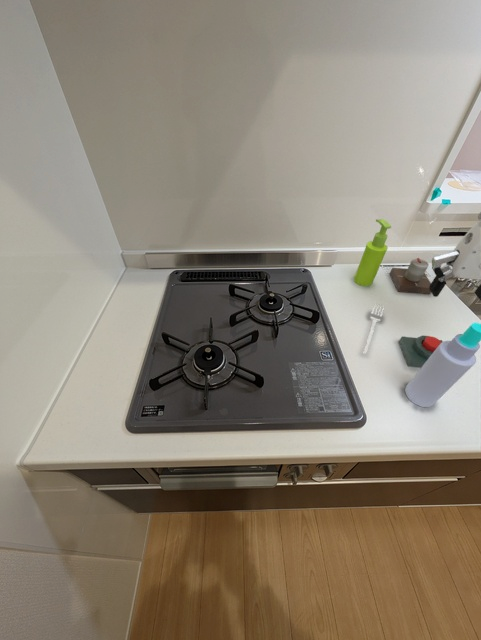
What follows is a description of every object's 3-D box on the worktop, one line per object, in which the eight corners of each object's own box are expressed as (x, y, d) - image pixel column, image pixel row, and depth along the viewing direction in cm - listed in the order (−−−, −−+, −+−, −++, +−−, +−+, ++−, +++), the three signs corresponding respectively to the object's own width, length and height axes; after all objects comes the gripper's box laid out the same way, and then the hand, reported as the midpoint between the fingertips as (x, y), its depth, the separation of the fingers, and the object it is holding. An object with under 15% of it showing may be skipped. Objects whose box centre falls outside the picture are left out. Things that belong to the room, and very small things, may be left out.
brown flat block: (419, 275, 95) (422, 269, 93) (430, 294, 88) (434, 287, 86) (389, 273, 96) (392, 267, 94) (397, 291, 88) (401, 285, 87)
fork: (357, 352, 71) (359, 347, 70) (372, 307, 84) (374, 302, 82) (370, 357, 70) (373, 352, 69) (383, 310, 83) (386, 306, 81)
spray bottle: (404, 401, 61) (461, 334, 45) (404, 380, 65) (457, 311, 49) (434, 412, 59) (504, 346, 44) (433, 389, 63) (497, 321, 48)
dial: (422, 282, 88) (431, 266, 84) (406, 281, 88) (415, 265, 84) (417, 273, 91) (425, 258, 87) (402, 272, 92) (410, 257, 88)
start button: (435, 341, 69) (438, 336, 68) (440, 352, 66) (444, 348, 65) (420, 340, 69) (423, 335, 68) (425, 351, 66) (428, 346, 65)
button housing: (437, 345, 73) (445, 335, 70) (450, 370, 67) (459, 360, 64) (398, 341, 73) (404, 331, 70) (407, 366, 68) (415, 356, 65)
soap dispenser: (366, 273, 95) (388, 217, 81) (375, 285, 90) (401, 228, 76) (350, 274, 95) (369, 218, 81) (358, 287, 90) (381, 229, 76)
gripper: (467, 226, 47) (420, 302, 59) (578, 234, 46) (506, 310, 58) (450, 208, 53) (409, 281, 65) (548, 214, 51) (488, 288, 63)
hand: (455, 294), depth 61 cm, fingers open, 9 cm apart
